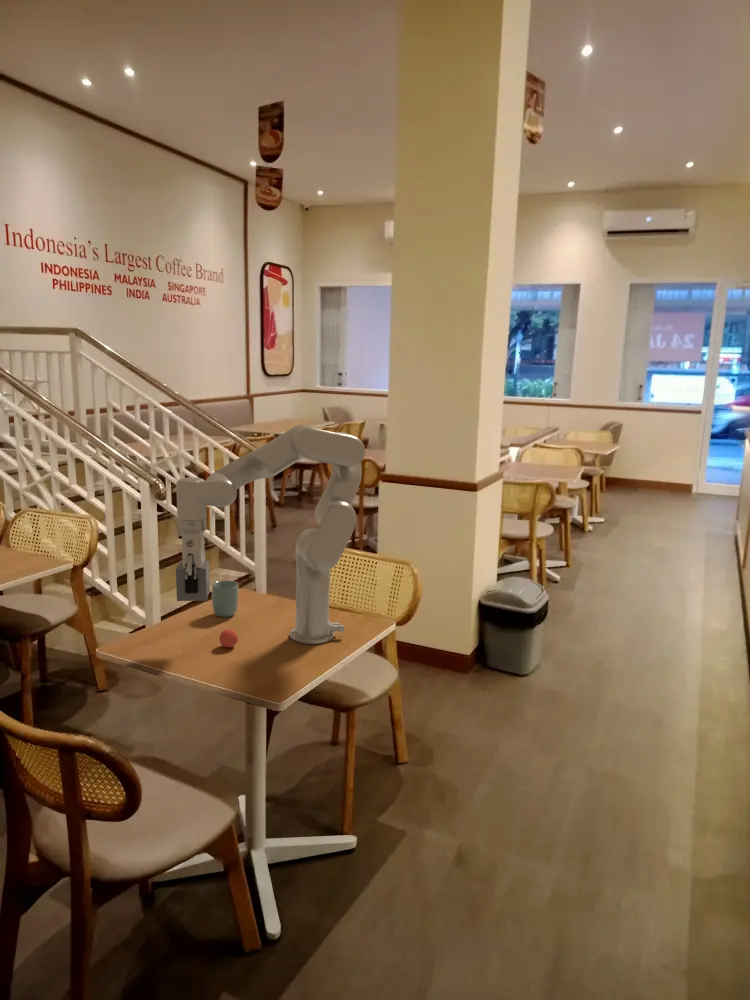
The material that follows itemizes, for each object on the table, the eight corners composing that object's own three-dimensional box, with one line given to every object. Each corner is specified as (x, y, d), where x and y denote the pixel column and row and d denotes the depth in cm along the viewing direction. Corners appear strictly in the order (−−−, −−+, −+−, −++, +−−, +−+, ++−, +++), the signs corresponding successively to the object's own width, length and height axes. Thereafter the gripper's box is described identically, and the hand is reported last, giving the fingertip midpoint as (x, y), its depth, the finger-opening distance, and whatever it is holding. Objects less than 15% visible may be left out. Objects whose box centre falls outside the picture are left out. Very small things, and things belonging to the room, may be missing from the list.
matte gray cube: (209, 591, 196) (208, 560, 195) (206, 600, 189) (205, 568, 187) (181, 591, 195) (180, 560, 194) (176, 601, 188) (175, 569, 186)
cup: (207, 617, 218) (207, 586, 216) (220, 609, 225) (220, 579, 223) (230, 621, 215) (230, 589, 213) (242, 612, 223) (242, 582, 221)
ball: (233, 623, 198) (217, 631, 197) (231, 629, 193) (215, 637, 193) (241, 638, 199) (225, 646, 199) (240, 645, 194) (223, 653, 194)
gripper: (202, 532, 180) (204, 598, 184) (210, 517, 197) (211, 578, 201) (172, 532, 179) (174, 598, 183) (182, 517, 196) (183, 578, 200)
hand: (193, 587), depth 192 cm, fingers closed on matte gray cube, 7 cm apart
